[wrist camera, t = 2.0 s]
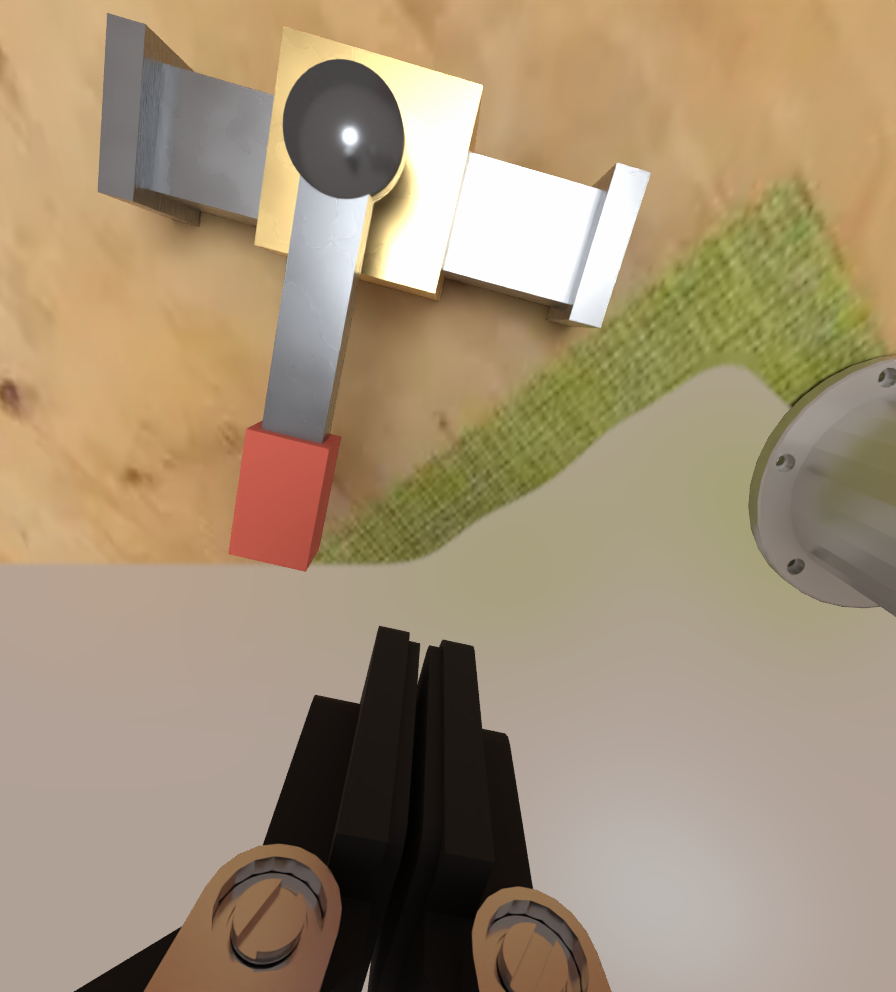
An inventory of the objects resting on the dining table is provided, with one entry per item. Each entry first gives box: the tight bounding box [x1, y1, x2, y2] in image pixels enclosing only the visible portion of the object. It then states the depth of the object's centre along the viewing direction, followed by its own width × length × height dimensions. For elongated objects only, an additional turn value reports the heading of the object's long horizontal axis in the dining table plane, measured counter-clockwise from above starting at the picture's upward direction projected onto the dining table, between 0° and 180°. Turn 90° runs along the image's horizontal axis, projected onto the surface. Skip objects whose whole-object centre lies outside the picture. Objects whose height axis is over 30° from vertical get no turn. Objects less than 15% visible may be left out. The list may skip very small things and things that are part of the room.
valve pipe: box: [98, 13, 651, 328], centre depth 19 cm, size 18×6×9 cm, turn 76°
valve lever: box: [229, 59, 407, 571], centre depth 16 cm, size 14×3×2 cm, turn 166°
